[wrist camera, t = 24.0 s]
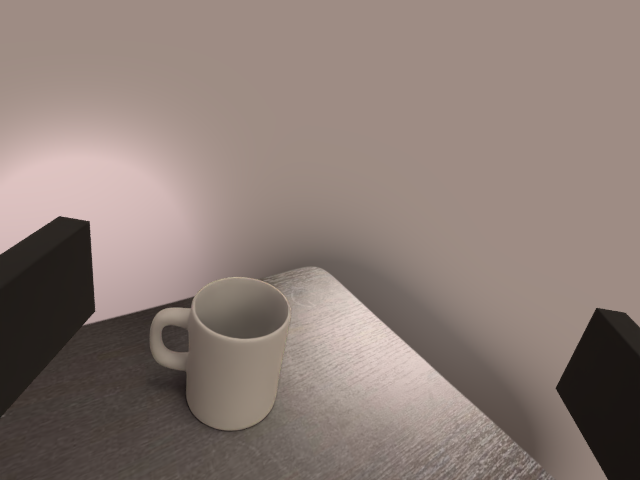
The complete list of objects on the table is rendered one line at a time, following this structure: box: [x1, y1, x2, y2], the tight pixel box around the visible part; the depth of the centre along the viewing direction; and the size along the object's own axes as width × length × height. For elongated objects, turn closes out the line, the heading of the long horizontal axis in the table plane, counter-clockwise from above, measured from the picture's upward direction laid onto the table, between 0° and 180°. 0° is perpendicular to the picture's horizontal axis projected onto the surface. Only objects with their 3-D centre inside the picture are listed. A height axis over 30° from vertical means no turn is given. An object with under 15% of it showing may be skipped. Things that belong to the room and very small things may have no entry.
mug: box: [149, 277, 291, 431], centre depth 41 cm, size 12×8×11 cm
